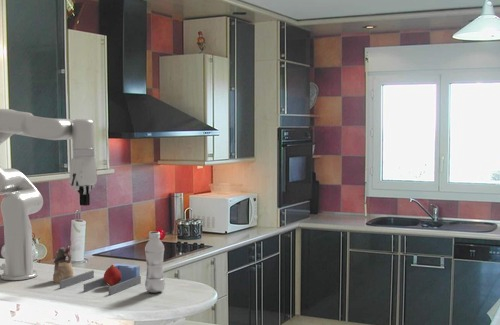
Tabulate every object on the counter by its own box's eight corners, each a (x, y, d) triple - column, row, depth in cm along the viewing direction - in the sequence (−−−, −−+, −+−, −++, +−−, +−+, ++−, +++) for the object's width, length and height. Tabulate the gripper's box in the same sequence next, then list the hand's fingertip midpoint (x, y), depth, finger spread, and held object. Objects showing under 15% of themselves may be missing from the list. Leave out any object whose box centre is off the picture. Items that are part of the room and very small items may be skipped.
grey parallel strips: (59, 288, 207) (59, 281, 207) (92, 277, 223) (91, 270, 223) (110, 295, 199) (110, 287, 198) (140, 282, 214) (140, 275, 214)
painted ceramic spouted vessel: (60, 277, 223) (59, 245, 222) (77, 278, 221) (76, 246, 220) (49, 282, 216) (48, 248, 215) (66, 283, 214) (65, 249, 213)
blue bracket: (109, 282, 215) (109, 265, 215) (115, 280, 218) (115, 263, 218) (134, 285, 211) (133, 268, 211) (139, 282, 214) (139, 266, 214)
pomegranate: (100, 287, 209) (100, 264, 208) (115, 284, 213) (114, 261, 212) (110, 290, 205) (109, 266, 204) (124, 287, 209) (124, 264, 208)
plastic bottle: (141, 293, 200) (140, 233, 199) (152, 288, 206) (151, 230, 205) (158, 295, 198) (157, 234, 197) (168, 290, 204) (167, 231, 203)
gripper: (88, 153, 225) (90, 202, 226) (60, 154, 211) (62, 207, 212) (105, 153, 222) (106, 203, 223) (77, 155, 208) (79, 208, 209)
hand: (84, 205), depth 217 cm, fingers closed
